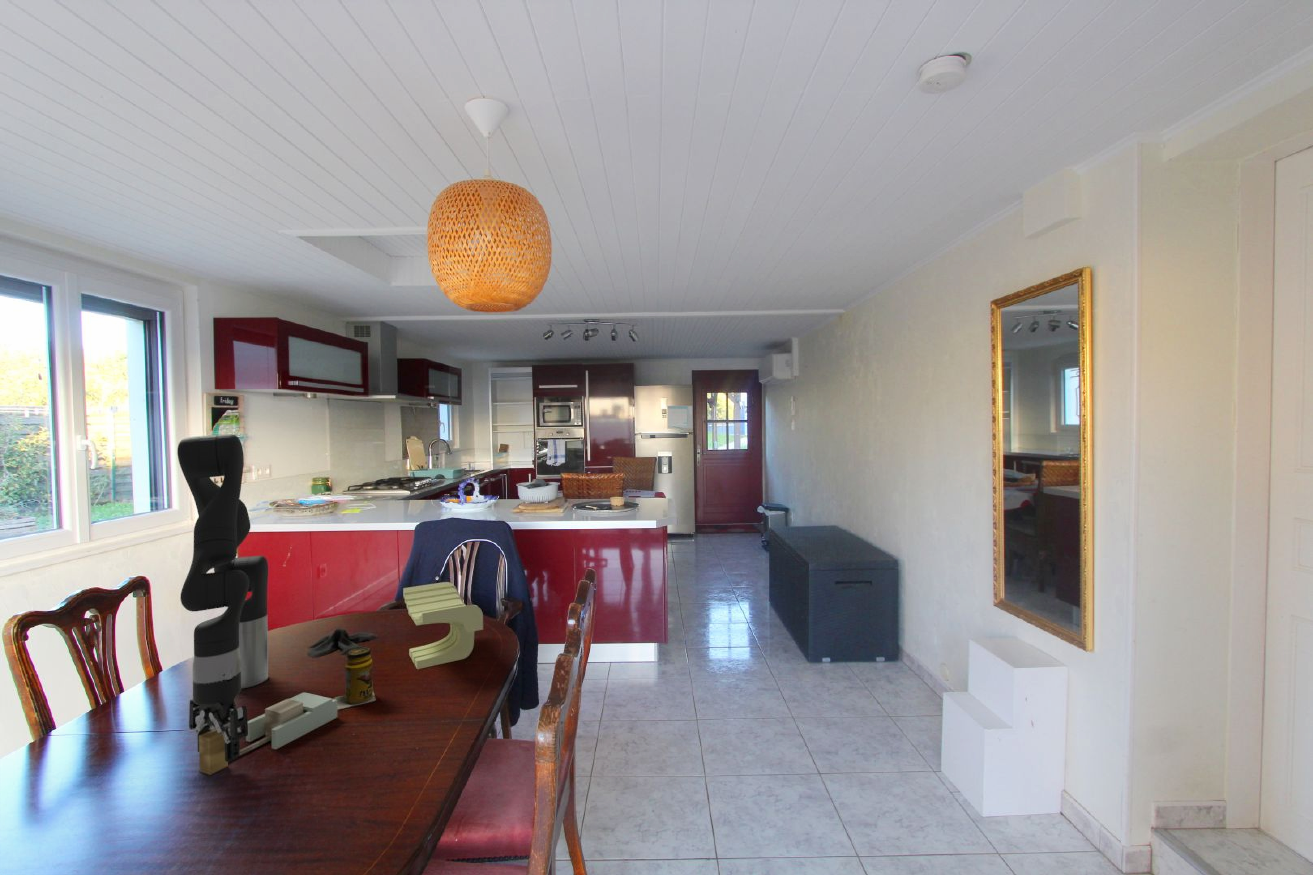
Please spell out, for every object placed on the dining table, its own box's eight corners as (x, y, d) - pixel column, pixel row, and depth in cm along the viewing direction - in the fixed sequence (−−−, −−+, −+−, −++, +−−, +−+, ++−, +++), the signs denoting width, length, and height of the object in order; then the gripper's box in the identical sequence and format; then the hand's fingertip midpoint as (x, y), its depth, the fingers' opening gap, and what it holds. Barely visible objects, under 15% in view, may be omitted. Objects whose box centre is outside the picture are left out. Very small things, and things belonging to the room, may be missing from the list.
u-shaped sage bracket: (246, 740, 120) (245, 718, 119) (309, 710, 133) (308, 689, 133) (275, 749, 116) (275, 726, 116) (337, 717, 129) (337, 696, 129)
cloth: (380, 633, 186) (380, 614, 186) (370, 653, 168) (370, 633, 168) (304, 641, 179) (303, 622, 179) (285, 664, 162) (285, 642, 162)
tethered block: (196, 770, 109) (196, 734, 109) (288, 725, 126) (287, 694, 126) (212, 775, 107) (212, 739, 107) (303, 729, 124) (302, 697, 124)
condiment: (376, 700, 137) (375, 652, 137) (336, 710, 132) (335, 660, 132) (372, 689, 143) (371, 643, 143) (334, 698, 138) (333, 650, 138)
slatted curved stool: (483, 665, 157) (482, 602, 157) (423, 680, 148) (422, 613, 148) (456, 634, 182) (456, 580, 182) (404, 645, 174) (403, 588, 173)
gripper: (173, 675, 109) (174, 758, 109) (219, 686, 104) (220, 773, 104) (215, 661, 116) (216, 738, 116) (260, 670, 111) (261, 752, 111)
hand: (218, 755), depth 110 cm, fingers open, 8 cm apart
